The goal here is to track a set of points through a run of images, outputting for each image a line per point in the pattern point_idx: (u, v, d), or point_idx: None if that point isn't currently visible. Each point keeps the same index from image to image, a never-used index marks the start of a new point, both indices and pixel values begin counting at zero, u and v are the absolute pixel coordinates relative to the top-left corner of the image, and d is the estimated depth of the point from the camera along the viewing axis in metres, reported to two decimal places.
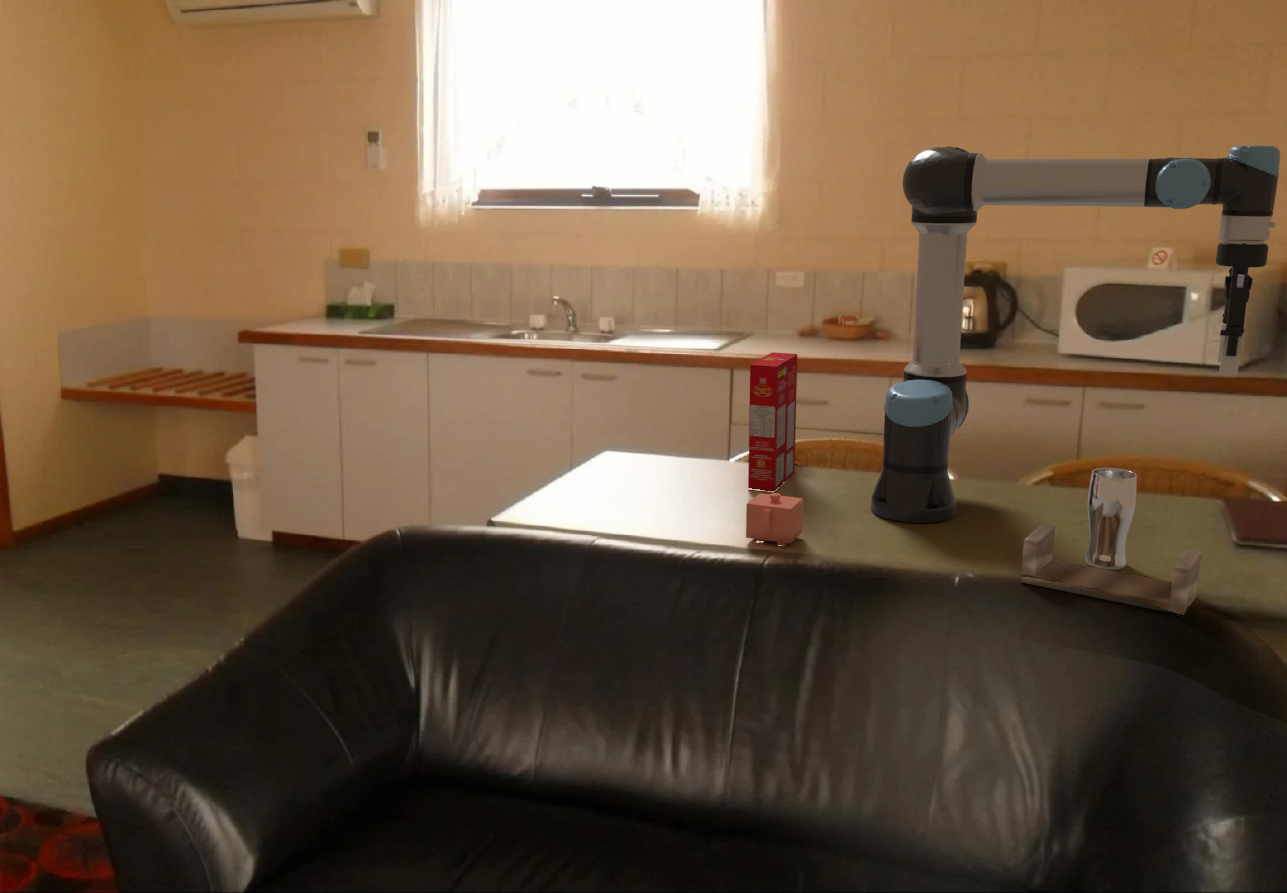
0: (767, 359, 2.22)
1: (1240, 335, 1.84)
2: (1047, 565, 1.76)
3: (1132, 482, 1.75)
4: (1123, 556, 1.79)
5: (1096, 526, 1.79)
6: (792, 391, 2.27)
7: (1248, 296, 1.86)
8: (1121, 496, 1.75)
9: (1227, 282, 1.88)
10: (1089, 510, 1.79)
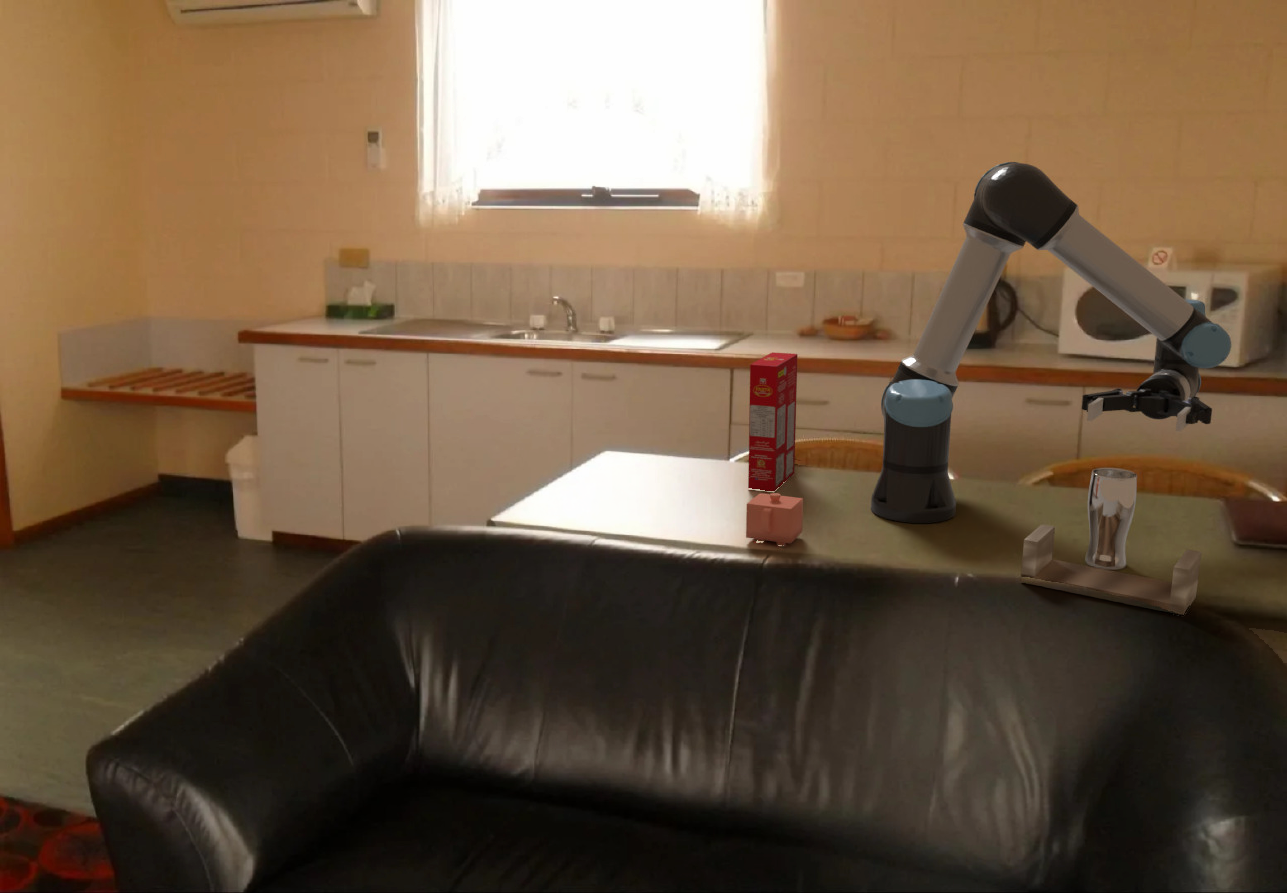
0: (767, 359, 2.22)
1: (1196, 421, 1.85)
2: (1047, 565, 1.76)
3: (1132, 482, 1.75)
4: (1123, 556, 1.79)
5: (1096, 526, 1.79)
6: (792, 391, 2.27)
7: None
8: (1121, 496, 1.75)
9: None
10: (1089, 510, 1.79)
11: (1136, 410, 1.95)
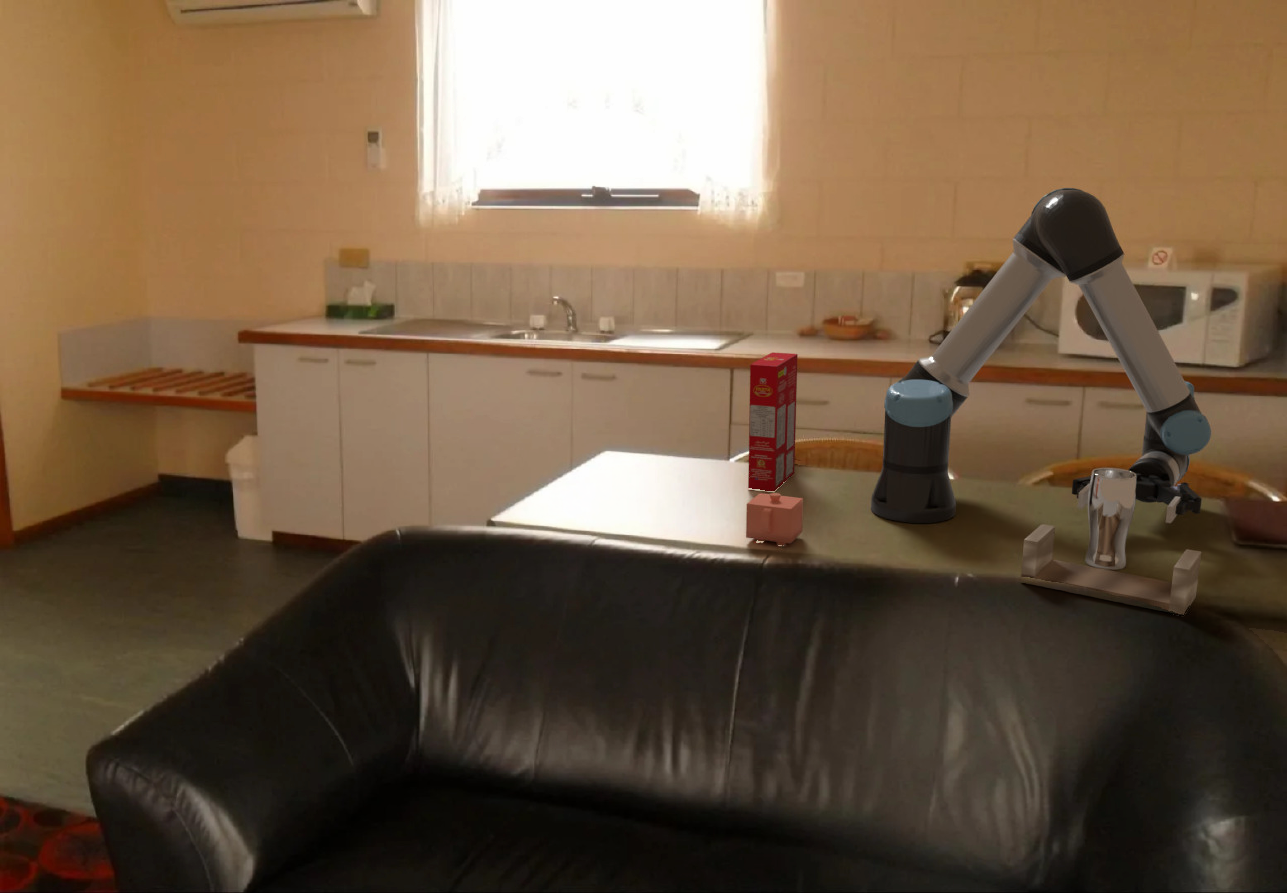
0: (767, 359, 2.22)
1: (1185, 511, 1.85)
2: (1047, 565, 1.76)
3: (1132, 482, 1.75)
4: (1123, 556, 1.79)
5: (1096, 526, 1.79)
6: (792, 391, 2.27)
7: None
8: (1121, 496, 1.75)
9: None
10: (1089, 510, 1.79)
11: None
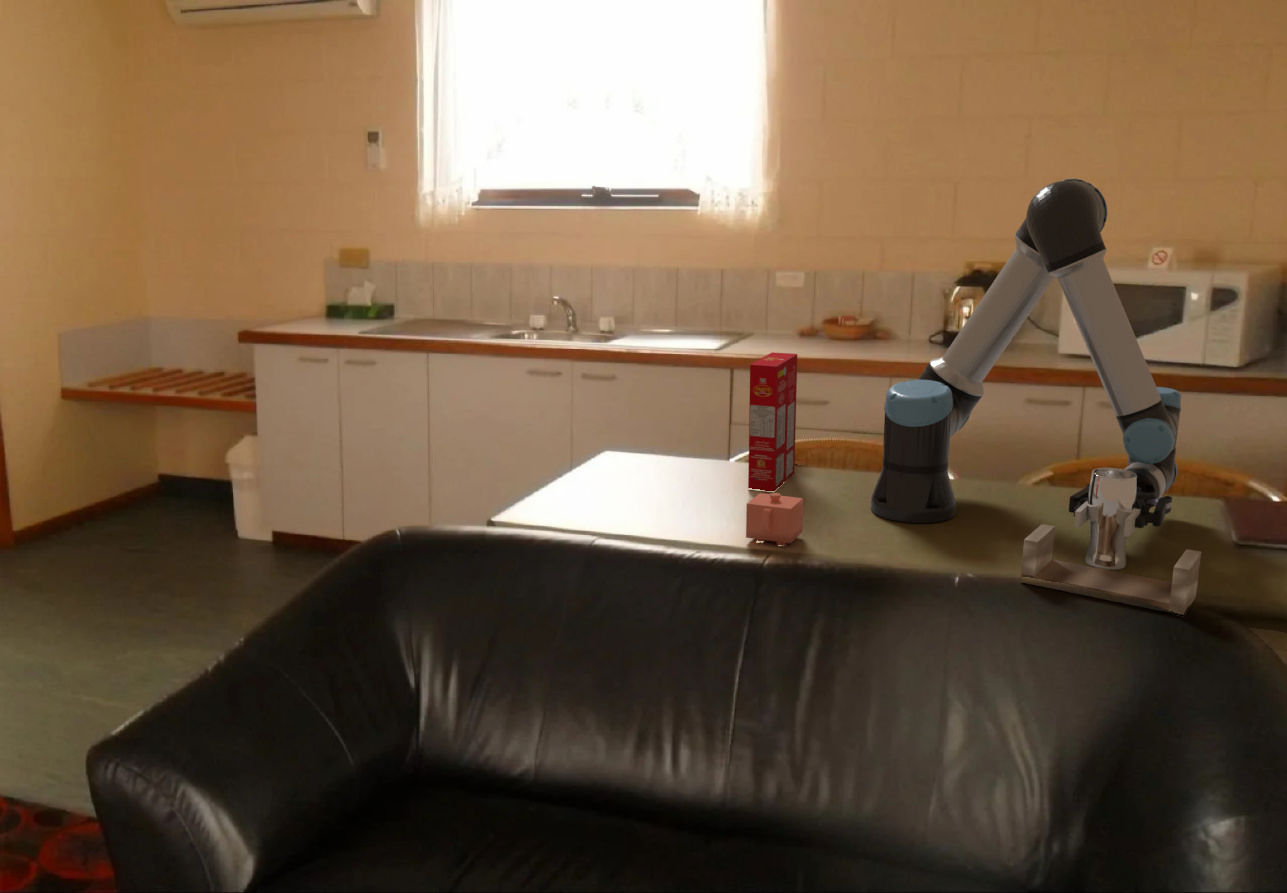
0: (767, 359, 2.22)
1: None
2: (1047, 565, 1.76)
3: (1132, 482, 1.75)
4: (1123, 556, 1.79)
5: (1096, 526, 1.79)
6: (792, 391, 2.27)
7: None
8: (1121, 496, 1.75)
9: None
10: (1089, 510, 1.79)
11: None
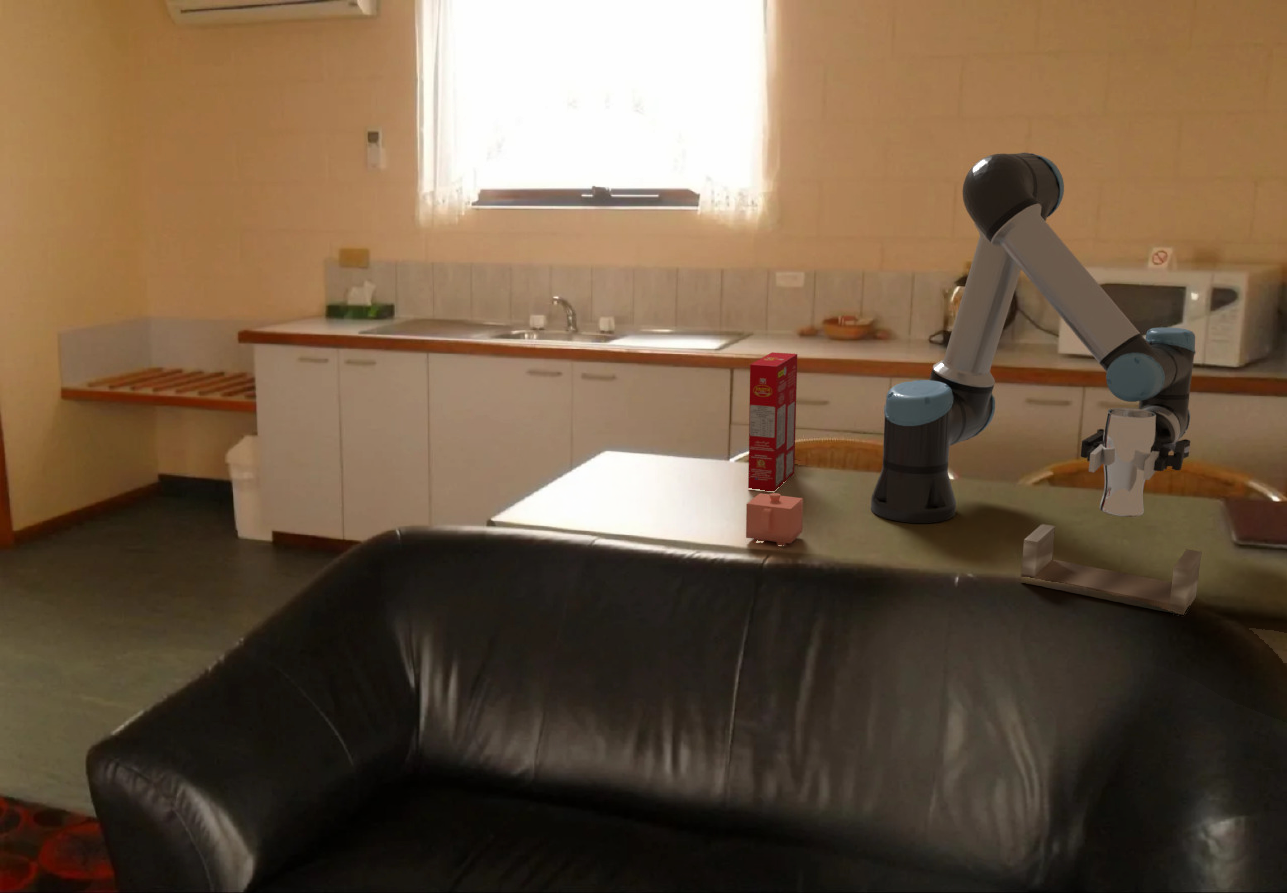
0: (767, 359, 2.22)
1: (1164, 467, 1.66)
2: (1047, 565, 1.76)
3: (1151, 421, 1.63)
4: (1141, 502, 1.67)
5: (1112, 470, 1.66)
6: (792, 391, 2.27)
7: None
8: (1140, 436, 1.63)
9: None
10: (1104, 453, 1.67)
11: None
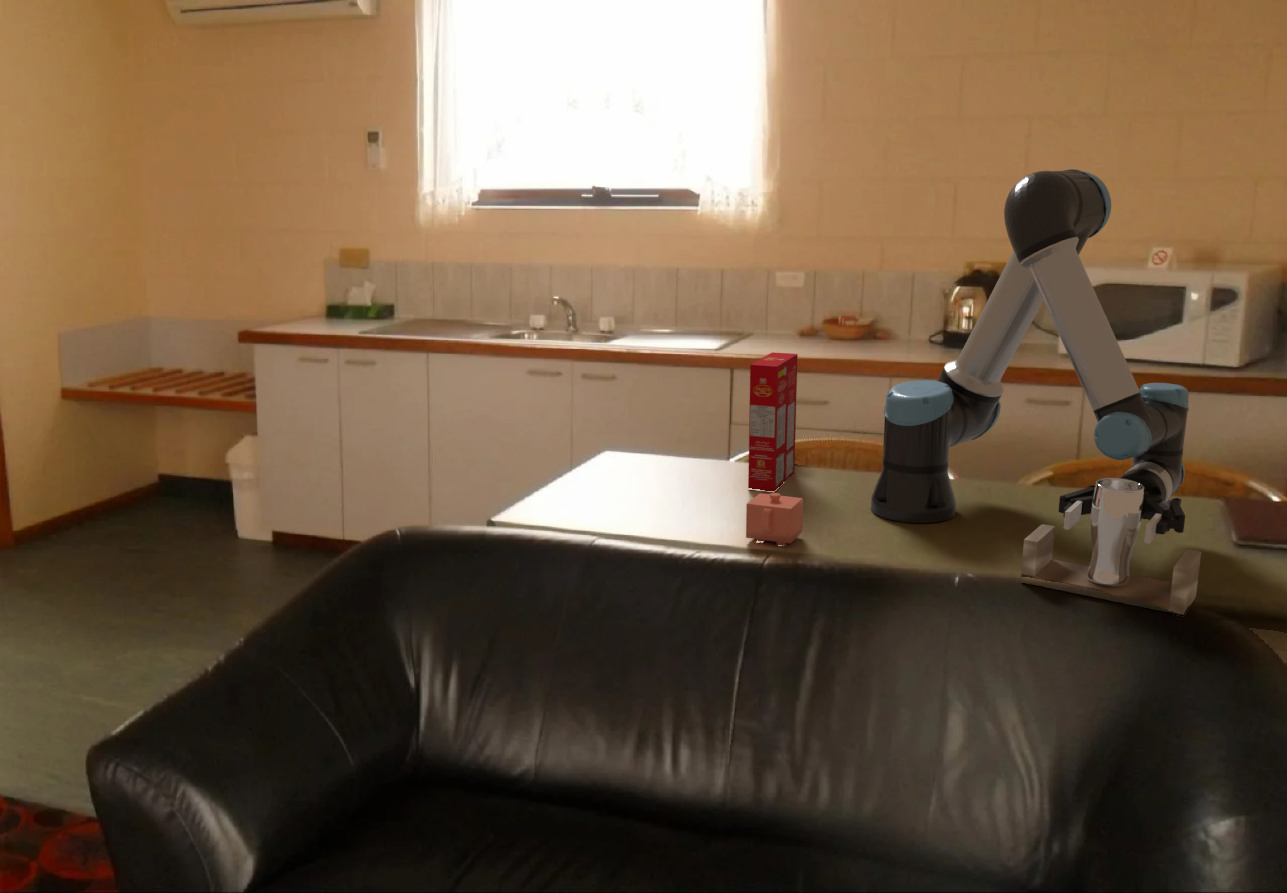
0: (767, 359, 2.22)
1: (1167, 529, 1.66)
2: (1047, 565, 1.76)
3: (1139, 495, 1.64)
4: (1127, 573, 1.68)
5: (1098, 541, 1.67)
6: (792, 391, 2.27)
7: None
8: (1127, 509, 1.63)
9: None
10: (1092, 523, 1.68)
11: None
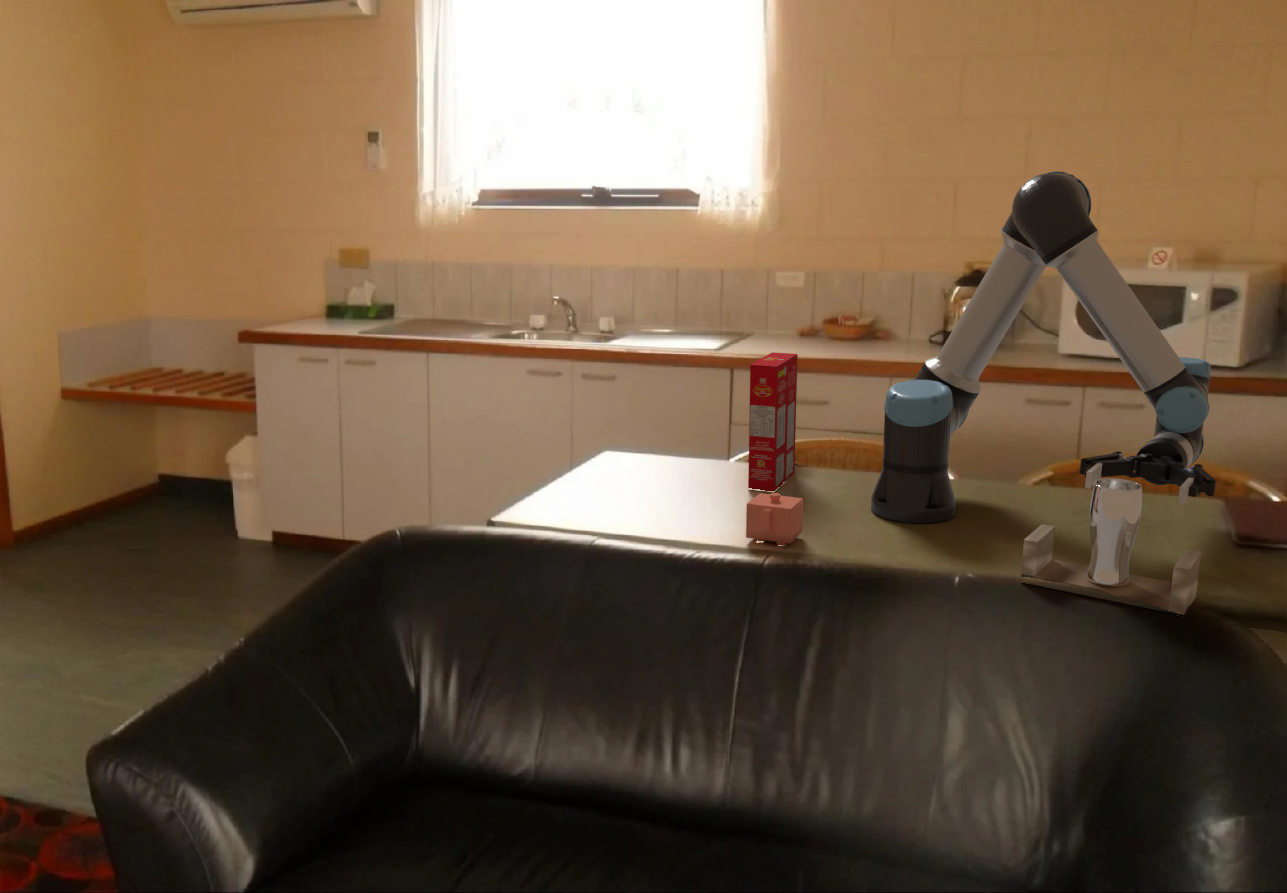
0: (767, 359, 2.22)
1: (1199, 493, 1.76)
2: (1047, 565, 1.76)
3: (1137, 494, 1.64)
4: (1127, 573, 1.68)
5: (1098, 541, 1.67)
6: (792, 391, 2.27)
7: None
8: (1126, 509, 1.64)
9: None
10: (1091, 523, 1.68)
11: (1136, 476, 1.87)
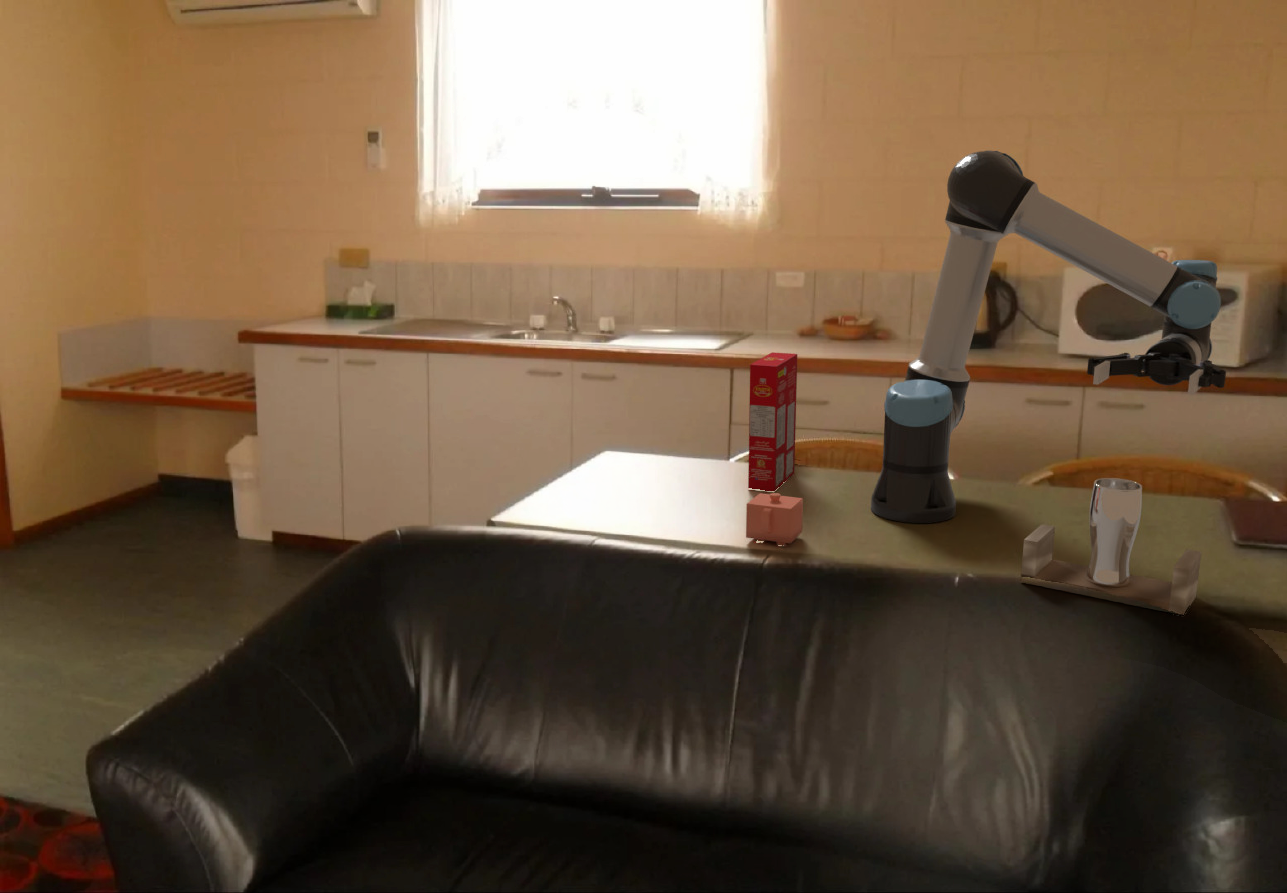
0: (767, 359, 2.22)
1: (1209, 385, 1.74)
2: (1047, 565, 1.76)
3: (1137, 494, 1.64)
4: (1127, 572, 1.68)
5: (1098, 541, 1.67)
6: (792, 391, 2.27)
7: (1186, 379, 1.81)
8: (1126, 508, 1.64)
9: None
10: (1091, 523, 1.68)
11: (1145, 375, 1.84)
